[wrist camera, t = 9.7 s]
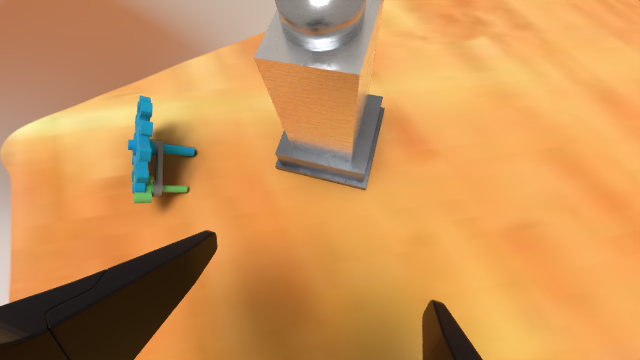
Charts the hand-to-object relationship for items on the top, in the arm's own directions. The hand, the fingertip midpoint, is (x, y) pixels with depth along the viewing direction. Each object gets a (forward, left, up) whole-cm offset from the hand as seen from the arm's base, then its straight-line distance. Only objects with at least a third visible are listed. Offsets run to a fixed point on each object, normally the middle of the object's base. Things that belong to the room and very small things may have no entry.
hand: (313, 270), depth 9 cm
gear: (+9, +20, -14) cm, 26 cm away
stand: (+14, +1, -14) cm, 19 cm away
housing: (+14, +1, -11) cm, 17 cm away
